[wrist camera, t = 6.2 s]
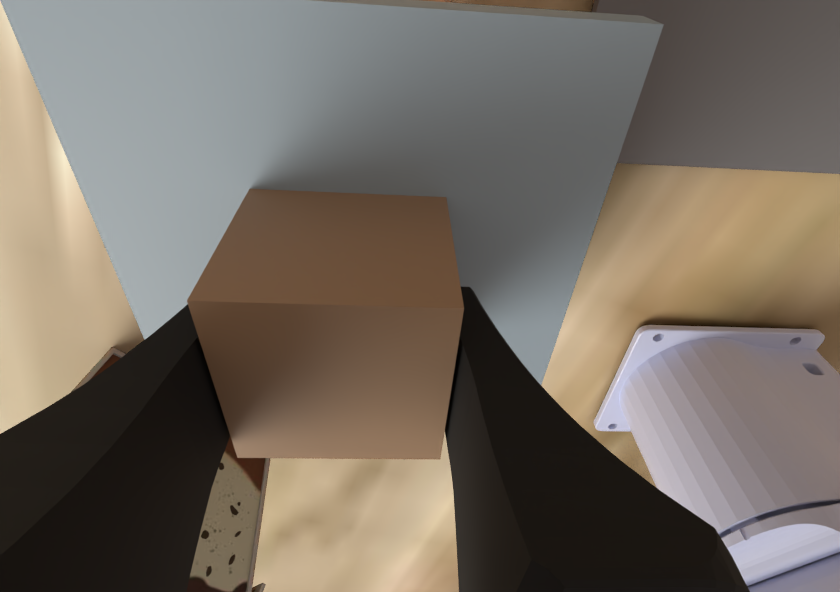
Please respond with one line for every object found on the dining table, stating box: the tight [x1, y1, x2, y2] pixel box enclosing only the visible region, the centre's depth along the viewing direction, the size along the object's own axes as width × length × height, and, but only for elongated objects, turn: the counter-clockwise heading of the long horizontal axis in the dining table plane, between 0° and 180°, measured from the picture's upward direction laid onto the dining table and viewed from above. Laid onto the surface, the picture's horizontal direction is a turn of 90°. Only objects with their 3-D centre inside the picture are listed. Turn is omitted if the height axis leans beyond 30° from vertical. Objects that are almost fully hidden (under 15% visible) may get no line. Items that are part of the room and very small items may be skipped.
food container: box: [72, 347, 270, 592], centre depth 22 cm, size 12×6×10 cm, turn 46°
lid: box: [0, 0, 664, 459], centre depth 11 cm, size 12×12×5 cm
